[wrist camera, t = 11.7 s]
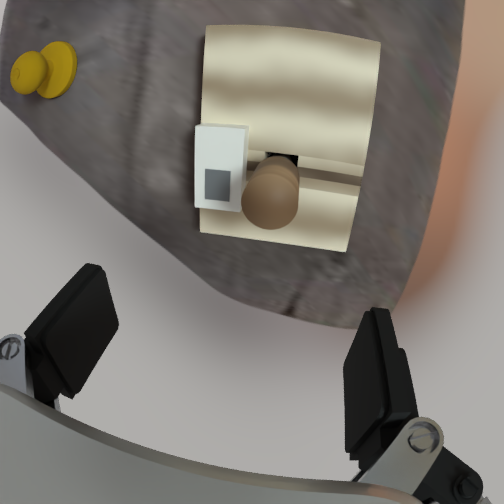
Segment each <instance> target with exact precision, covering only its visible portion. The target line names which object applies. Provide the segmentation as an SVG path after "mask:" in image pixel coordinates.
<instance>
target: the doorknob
mask: <svg viewBox="0 0 504 504" xmlns="http://www.w3.org/2000/svg"><path fill="white" fill-rule="evenodd" d="M76 70H77V56H76V53H75V50H74V48H73V47H72V46H71V45H70V44H69V43H67V42H63V41H56V42H52V43H50V44H48V45H47V46H46V47H44V48H43V50H42V51H41V52H40V53H39V52H37V51H28V52H26V53H24V54H23V55H21V56H20V57H19V58H18V59H17V60H16V61H15V63H14V65H13V67H12V70H11V74H10V81H11V85H12V87H13V89H14V90H15V91H16V92H18V93H20V94H30V93H32V92H34V91H35V90H37V92H38V93H39V94H40V95H41V96H42V97H44V98H54V97H58V96H60V95H62V94H63V93H65V92H66V91H67V90H68V88H69V87H70V86H71V84H72V82H73V80H74V77H75V74H76Z"/></svg>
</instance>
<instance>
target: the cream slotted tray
mask: <svg viewBox="0 0 504 504" xmlns="http://www.w3.org/2000/svg"><path fill="white" fill-rule="evenodd" d="M380 47H381V43H380V42H376V41H372V40H367V39H363V38H358V37H353V36H348V35H342V34H336V33H330V32H324V31H317V30H309V29H300V28H290V27H278V26H261V25H206V36H205V50H204V66H203V85H202V108H201V124H202V123H220V124H236V125H249V141H248V156H247V171H246V186H247V184H248V182H249V180H250V178H251V176H252V175H253V173H254V171H255V169H256V167H257V166H258V164H259V163H260V162H261V161H263V160H264V159H266V158H267V157H268V152H274V153H283V154H291V155H298V163H297V169H298V172H299V175H300V184H299V201H298V211H297V214H296V216H295V218H294V219H293V220H292V221H291V222H290V223H289V224H288V225H286V226H285V227H282V228H280V229H275V230H267V229H262V228H259V227H257V226H255V225H254V224H252V223H251V222H250V221H249V220H248V219H247V218H246V216H245V215H244V213H243V211H242V209H241V211H240V212H233V211H224V210H216V209H207V208H200V232H204V233H212V234H219V235H227V236H234V237H242V238H249V239H256V240H264V241H271V242H278V243H285V244H292V245H299V246H306V247H313V248H320V249H327V250H334V251H341V252H346V248H347V244H348V240H349V236H350V232H351V228H352V223H353V219H354V214H355V210H356V205H357V201H358V196H359V191H360V186H361V181H362V176H363V171H364V165H365V160H366V154H367V148H368V142H369V136H370V130H371V124H372V117H373V110H374V102H375V95H376V87H377V78H378V68H379V58H380ZM246 186H245V187H246Z"/></svg>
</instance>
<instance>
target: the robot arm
mask: <svg viewBox="0 0 504 504" xmlns="http://www.w3.org/2000/svg"><path fill="white" fill-rule="evenodd" d="M118 326H119V322H118V318H117V314H116V311H115V308H114V304H113V300H112V296H111V293H110V289H109V285H108V281H107V277H106V273H105V271H104V270H103V269H102V267H101V266H99V265H95V264H90V263H87V264H85V265H84V266H83V267H82V268H81V269H80V270H79V271H78V272H77V273H76V274H75V275H74V276H73V277H72V278H71V279H70V281H69V282H68V283H67V284H66V285H65V286H64V287H63V288H62V289H61V290H60V291H59V293H58V294H57V295H56V296H55V297H54V298H53V299H52V300H51V301H50V303H49V304H48V305H47V306H46V307H45V309H44V310H43V311H42V312H41V313H40V314H39V315H38V317H37V318H36V319H35V320H34V321H33V323H32V324H31V325H30V326H29V327H28V329H27V330H26V331H25V332H24V334H25V336H26V338H25V339H24V340H23V338H22V337H21V336H20V335H17V334H9V335H7V336H4V337H3V338H2V339H0V504H491V502H490V501H489V499H488V498H487V497H485V498H483V497H482V492H483V482H482V479H481V477H480V476H479V474H478V473H477V472H475V471H474V470H473V469H472V468H470V467H469V466H468V465H466V464H465V463H464V462H462V461H461V460H460V459H459V458H457V457H456V456H455V455H454V454H452V453H451V452H450V451H448V450H447V449H446V448H445V447H444V446H443V444H444V435H443V431H442V429H441V428H440V426H439V425H438V424H437V423H436V422H435V421H434V420H432V419H430V418H425V417H419V415H418V410H417V404H416V399H415V393H414V388H413V384H412V379H411V374H410V370H409V365H408V361H407V357H406V353H405V351H404V349H403V348H398V344H397V339H396V335H395V331H394V327H393V323H392V319H391V316H390V312H389V310H388V309H384V308H375V307H372V308H371V309H370V311H365V313H364V315H363V318H362V320H361V323H360V326H359V328H358V331H357V333H356V336H355V338H354V340H353V343H352V345H351V348H350V350H349V352H348V355H347V357H346V359H345V362H344V366H343V378H344V405H345V451H346V453H350V460H359V468H360V469H361V470H360V471H359V472H358V473H357V474H356V475H355V476H354V477H353V478H352V479H351V480H350V481H333V480H316V479H303V478H292V477H283V476H273V475H266V474H258V473H252V472H245V471H239V470H234V469H228V468H223V467H218V466H214V465H209V464H204V463H200V462H196V461H192V460H188V459H184V458H180V457H177V456H173V455H169V454H166V453H163V452H159V451H156V450H153V449H150V448H147V447H143V446H141V445H138V444H135V443H132V442H129V441H126V440H124V439H121V438H118V437H116V436H113V435H111V434H108V433H106V432H103V431H101V430H98V429H96V428H94V427H91V426H89V425H87V424H84V423H82V422H80V421H77V420H76V419H73V418H71V417H69V416H67V415H65V414H63V413H61V411H60V405H59V400H58V396H59V394H60V393H61V394H62V395H64V396H66V397H68V398H70V399H73V398H74V396H75V394H77V393H79V392H80V391H81V389H82V387H83V386H84V384H85V382H86V381H87V379H88V377H89V375H90V374H91V372H92V370H93V369H94V367H95V365H96V364H97V362H98V360H99V359H100V357H101V356H102V354H103V352H104V351H105V349H106V347H107V346H108V344H109V343H110V341H111V339H112V338H113V336H114V335H115V333H116V331H117V330H118Z"/></svg>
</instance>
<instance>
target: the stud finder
mask: <svg viewBox="0 0 504 504" xmlns="http://www.w3.org/2000/svg"><path fill="white" fill-rule="evenodd" d="M248 141H249V125H236V124H220V123H202V124H199V125H197V126H195V207H198V208H207V209H216V210H224V211H233V212H240V211H241V209H242V207H241V197H242V193H243V191H244V189H245V186H246V171H247V156H248Z"/></svg>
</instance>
